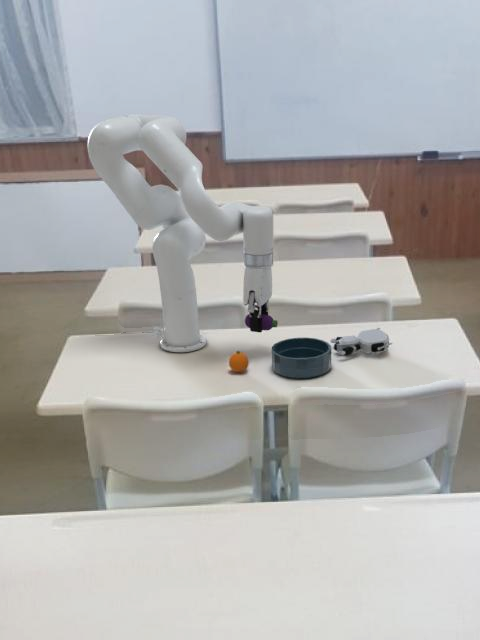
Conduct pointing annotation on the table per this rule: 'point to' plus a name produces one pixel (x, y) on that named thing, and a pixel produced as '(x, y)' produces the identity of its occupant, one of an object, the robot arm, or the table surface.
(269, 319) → the aubergine toy
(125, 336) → the table surface
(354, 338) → the robot toy
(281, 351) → the bowl
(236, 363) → the orange toy
